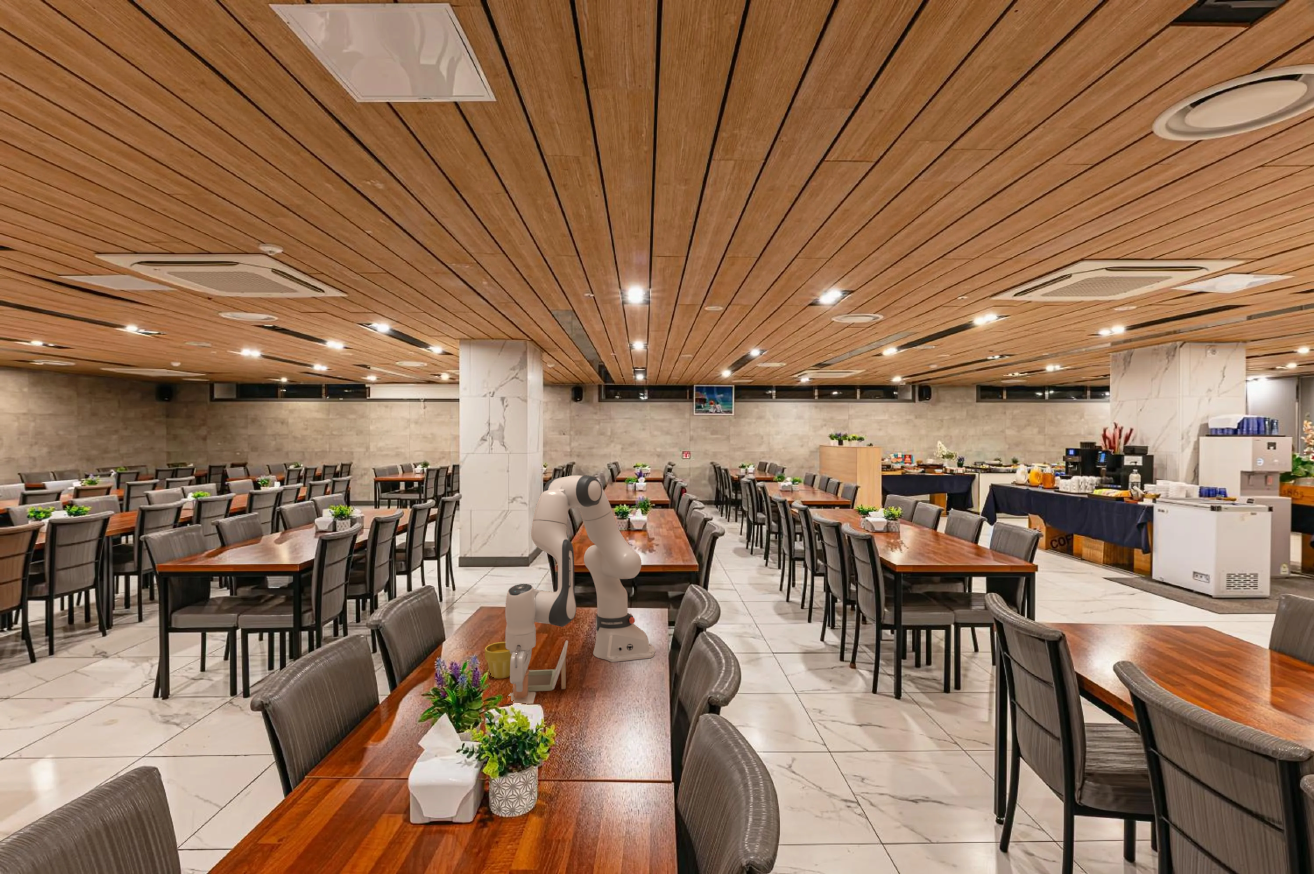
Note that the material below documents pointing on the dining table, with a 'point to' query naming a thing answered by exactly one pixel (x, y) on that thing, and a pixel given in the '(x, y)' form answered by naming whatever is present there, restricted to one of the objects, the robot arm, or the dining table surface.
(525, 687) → the terracotta pot
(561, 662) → the propped lid
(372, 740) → the dining table surface
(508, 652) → the plant pot
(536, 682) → the shallow square tray
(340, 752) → the dining table surface
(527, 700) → the plate
